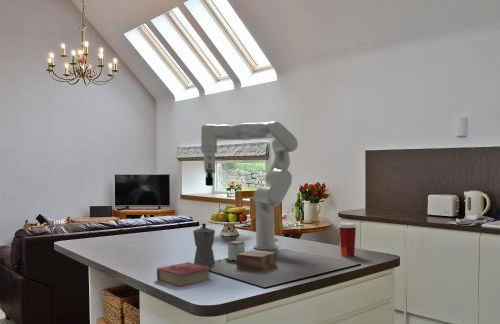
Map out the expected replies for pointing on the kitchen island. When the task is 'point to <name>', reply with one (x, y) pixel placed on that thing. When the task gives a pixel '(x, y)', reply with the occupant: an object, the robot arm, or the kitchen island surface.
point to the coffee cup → (347, 239)
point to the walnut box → (256, 260)
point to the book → (183, 274)
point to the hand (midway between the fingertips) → (209, 185)
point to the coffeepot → (204, 246)
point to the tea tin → (235, 249)
